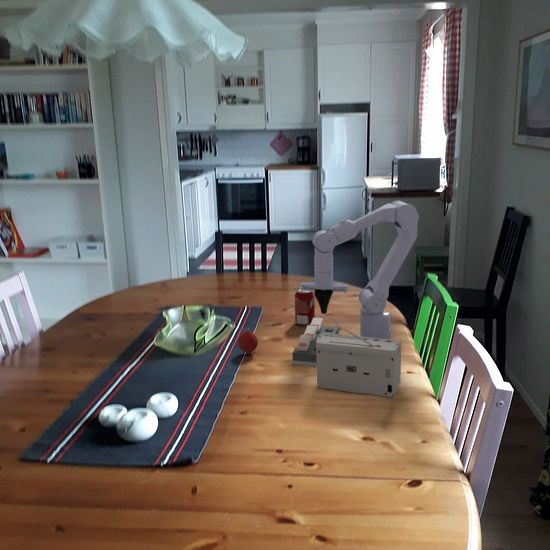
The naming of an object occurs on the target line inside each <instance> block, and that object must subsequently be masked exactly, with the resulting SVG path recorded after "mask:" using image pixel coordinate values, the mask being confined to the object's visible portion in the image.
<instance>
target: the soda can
mask: <svg viewBox="0 0 550 550" xmlns="http://www.w3.org/2000/svg"><path fill="white" fill-rule="evenodd" d="M313 291H314V290H300V287H299V288H296V292H295V293H294V321H295V324H297V325H298V326H305V327H307V325H308V326H310V325H311V322H312V320H313V318H316V311H315V309H316V305H315V301H316V300H315V295H314V293H315V292H313Z"/></svg>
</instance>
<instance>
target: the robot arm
mask: <svg viewBox="0 0 550 550" xmlns="http://www.w3.org/2000/svg"><path fill="white" fill-rule="evenodd" d="M419 220H420V216H419V213H418V211H417V209H416V207H415V206H414V205H413V204H411V203H406V202H404V201H402V200H394V201H392V202H390V203H385V204H384V205H382V206H381V207H378V208H377V209H374V210H372V211H371V212H369V213H367V214H365V215H363V216H361V217H359V218H357V219H355V220H350V219H346V220H345V219H341V220H340V221H339V223H337V224H335V225H333V226H331V227H329V226H327V227H325V230H319V231H317V232H315V234H314V235H313V237H312V239H311V242H312V245H313V246H314V257H313V262H314V266H313V267H314V281H311V282H304V281H303V282H301V283H300V284H299V286H300V287H299V288H300V290H313V291H314V292H313V293H314V298H316V301H317V303H318V306H319V309H320V314H321V315H326V314H327V313H328V308H329V304H330V300H331V298H332V295H333V293H334V292H342V293H348V291H349V285H348V284H343V283H336V282H334V255H333V254H334V253H333V252H334V249H335V247H336V246H338V245H341V244H343V243H345V242H348V241H350V240H352V239H354V238H356V237H357V235H358V232H359V231H362V230H364V229H366V228H370V227H372V226H373V225H377V224H379V223H381V222H385V223H386V222H387V223H393V224H394V226H395V229H396V231H397V232H396V233H397V236H396V238H395V240H394V242H393V243H392V245H391V247H390V249H389V251H388V253H387V255H386V256H385V258H384V259H383V262H382V263H381V266H379V268H378V270H377V273H376V274H375V276H374V278H372V279H371V280H370V281H369V282H368V283H367V285H366V286H365V287H364V288H362V289H361V290H360V292H359V294H358V301H359V303H361V306H360V310H359V311H360V312H359V313H360V315H359V316H360V319H359V321H360V323H359V324H360V325H359V326H360V327H359V328H360V329H359V335H358V336H361V337H371V338H381V339H390V338H391V333H392V332H391V331H392V330H391V312H388V311H385V310H386V309H385V308H386V306H387V299H388V298H389V293H390V291H389V289H390V287H391V285H392V282H393V281H394V279H395V278H396V276H397V274H398V272H399V270H400V268H401V266H402V265H403V263H404V261H405V260H406V257H407V256H408V254H409V252H410V250H411V249H412V247H413V246H414V243H415V241H416V240H417V237H418V223H419V222H418V221H419Z"/></svg>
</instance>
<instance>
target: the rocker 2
mask: <svg viewBox="0 0 550 550" xmlns="http://www.w3.org/2000/svg"><path fill="white" fill-rule="evenodd" d="M323 323H324V318H323V317H315V318H313V320H312V322H311V325H309V326H318V330H317V332H320V329H321V326H322V325H323Z"/></svg>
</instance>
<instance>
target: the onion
mask: <svg viewBox="0 0 550 550" xmlns="http://www.w3.org/2000/svg"><path fill="white" fill-rule="evenodd" d="M237 344H238V348H239V349H240V350H241V351H242V352H244V353H245V354H247V355H251V354H252V353H253V352H254V351H255V350H256V349H257V348H258V347H257V346H258V345H259V340H258V338H257V336H256V335H255V333H253V332H252V331H251V330H250V328H247V329H246V330H245V331H243V332H242V333H241V335H240V336H239V338H238V341H237Z"/></svg>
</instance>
